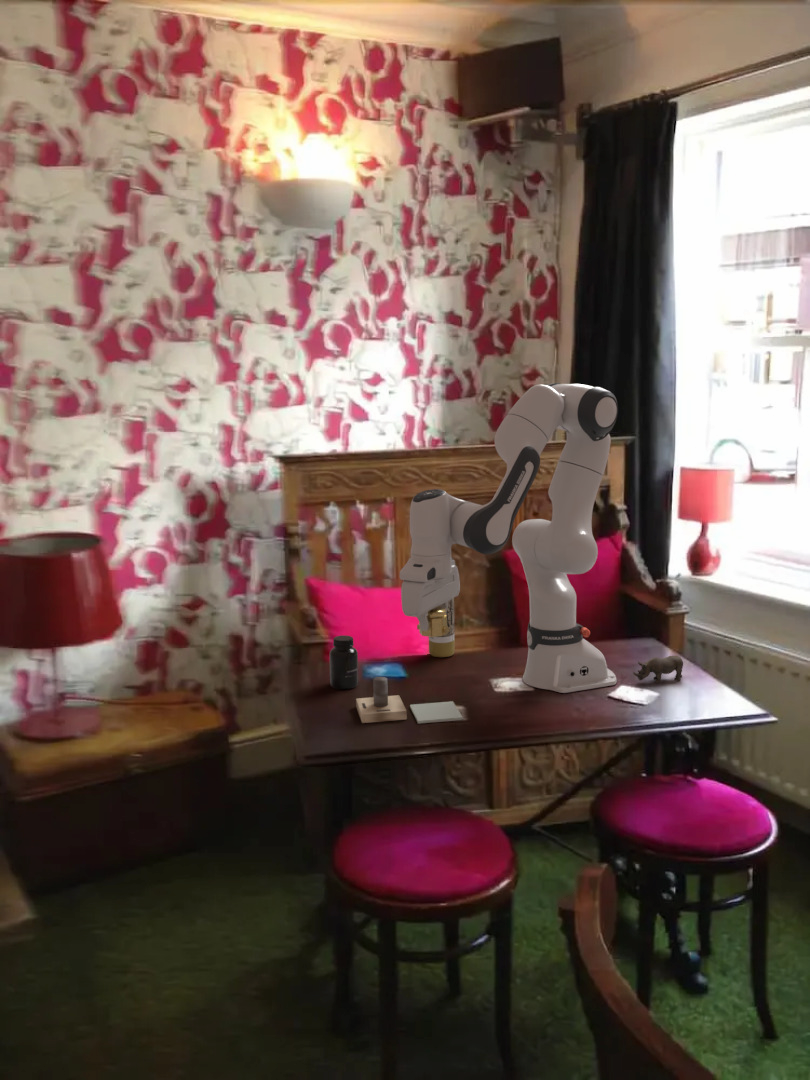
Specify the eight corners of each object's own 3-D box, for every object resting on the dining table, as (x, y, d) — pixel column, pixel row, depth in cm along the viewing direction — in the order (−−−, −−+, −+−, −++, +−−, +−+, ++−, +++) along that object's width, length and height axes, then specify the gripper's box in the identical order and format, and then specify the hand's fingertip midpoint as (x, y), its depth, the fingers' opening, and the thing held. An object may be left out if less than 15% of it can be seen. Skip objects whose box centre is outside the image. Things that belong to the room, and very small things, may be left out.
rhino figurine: (628, 681, 246) (628, 657, 245) (678, 675, 250) (679, 651, 249) (636, 686, 242) (637, 662, 241) (687, 680, 246) (688, 656, 245)
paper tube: (435, 659, 265) (434, 566, 260) (424, 652, 271) (423, 561, 266) (459, 655, 267) (458, 563, 262) (447, 648, 273) (446, 558, 268)
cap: (425, 627, 229) (424, 601, 227) (454, 631, 225) (453, 604, 224) (412, 634, 224) (411, 608, 222) (441, 638, 220) (441, 611, 219)
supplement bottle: (354, 690, 243) (353, 642, 241) (327, 689, 244) (325, 641, 242) (361, 681, 250) (360, 634, 247) (334, 679, 251) (333, 633, 249)
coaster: (452, 703, 233) (452, 701, 233) (462, 719, 224) (462, 717, 224) (410, 707, 232) (410, 704, 232) (418, 723, 222) (418, 721, 222)
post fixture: (399, 703, 234) (398, 670, 233) (406, 719, 225) (406, 685, 223) (356, 706, 233) (355, 673, 231) (362, 723, 223) (360, 688, 221)
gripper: (441, 553, 231) (443, 611, 234) (395, 573, 214) (397, 636, 217) (466, 555, 228) (467, 614, 231) (421, 576, 211) (423, 640, 214)
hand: (433, 625), depth 224 cm, fingers closed on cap, 6 cm apart
